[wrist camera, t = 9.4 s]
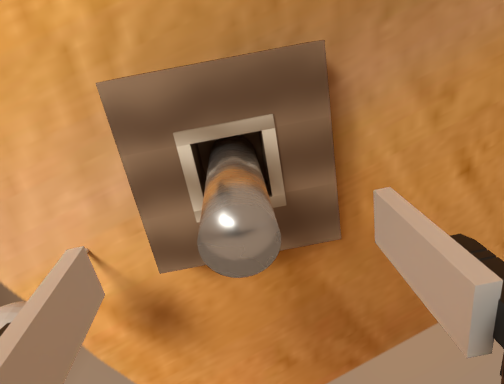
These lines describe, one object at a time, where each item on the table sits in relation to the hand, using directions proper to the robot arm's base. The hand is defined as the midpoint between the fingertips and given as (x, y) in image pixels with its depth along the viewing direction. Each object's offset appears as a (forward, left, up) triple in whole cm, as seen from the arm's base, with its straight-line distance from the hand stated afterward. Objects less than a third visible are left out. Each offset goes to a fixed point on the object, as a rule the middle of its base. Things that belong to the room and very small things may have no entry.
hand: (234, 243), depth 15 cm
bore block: (0, 0, -17) cm, 17 cm away
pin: (0, 0, -16) cm, 16 cm away
